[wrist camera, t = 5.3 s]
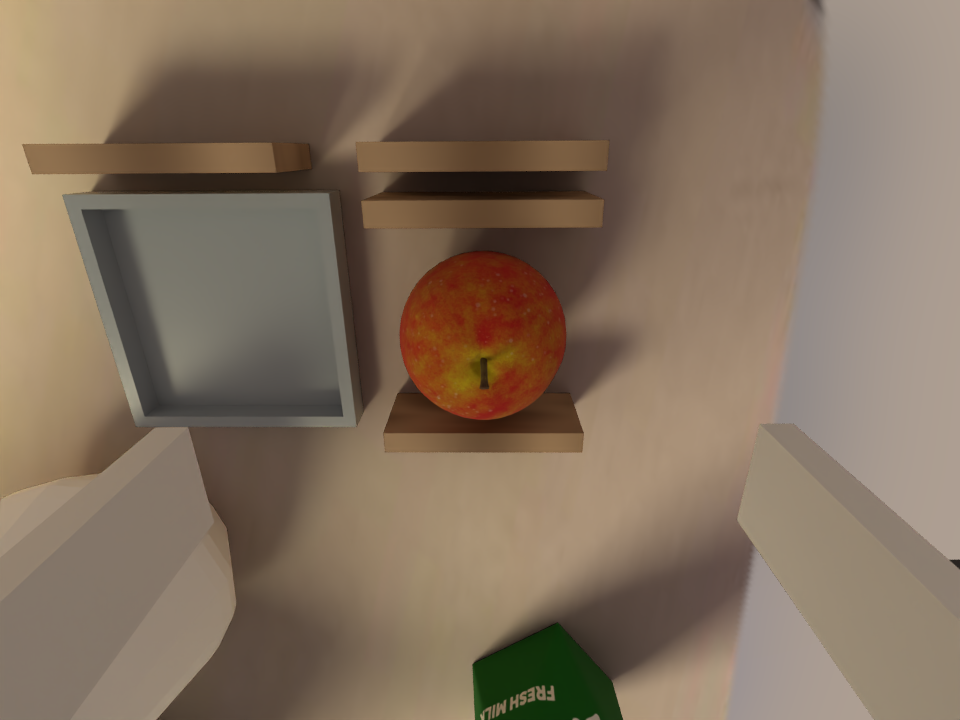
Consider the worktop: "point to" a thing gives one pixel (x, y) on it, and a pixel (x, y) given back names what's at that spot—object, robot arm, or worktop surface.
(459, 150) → the stall
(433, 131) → the worktop surface
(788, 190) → the worktop surface
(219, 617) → the cup
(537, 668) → the milk carton
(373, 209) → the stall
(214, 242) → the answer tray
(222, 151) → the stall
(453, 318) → the fruit
